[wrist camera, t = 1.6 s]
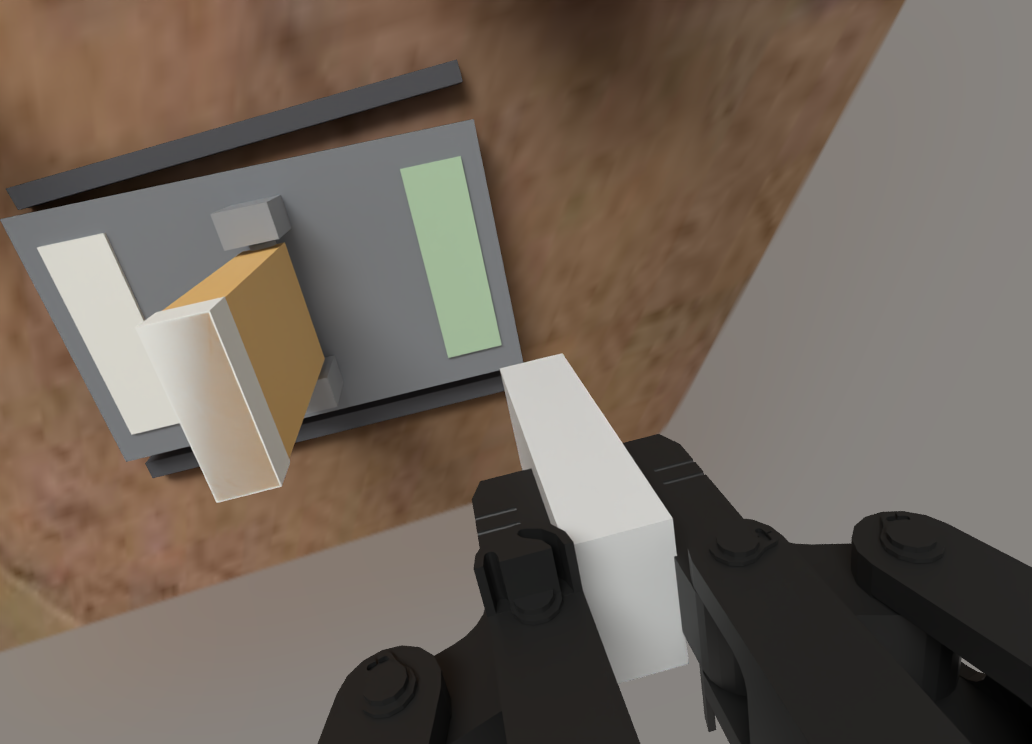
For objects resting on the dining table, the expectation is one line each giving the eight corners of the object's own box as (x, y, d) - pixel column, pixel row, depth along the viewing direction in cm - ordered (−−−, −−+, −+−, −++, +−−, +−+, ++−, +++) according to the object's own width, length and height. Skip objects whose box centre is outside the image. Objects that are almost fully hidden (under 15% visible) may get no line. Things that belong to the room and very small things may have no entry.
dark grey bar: (30, 207, 30) (17, 209, 29) (18, 186, 29) (5, 188, 28) (461, 82, 31) (462, 81, 30) (455, 61, 31) (456, 59, 30)
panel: (144, 439, 35) (98, 494, 30) (31, 212, 30) (-49, 229, 25) (516, 349, 37) (534, 385, 31) (468, 119, 32) (480, 117, 26)
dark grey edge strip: (159, 469, 36) (152, 478, 35) (152, 454, 35) (145, 463, 34) (522, 379, 37) (525, 385, 37) (519, 364, 37) (522, 370, 36)
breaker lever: (288, 367, 31) (218, 506, 20) (242, 245, 29) (132, 322, 17) (328, 358, 32) (283, 490, 20) (286, 235, 29) (207, 305, 17)
